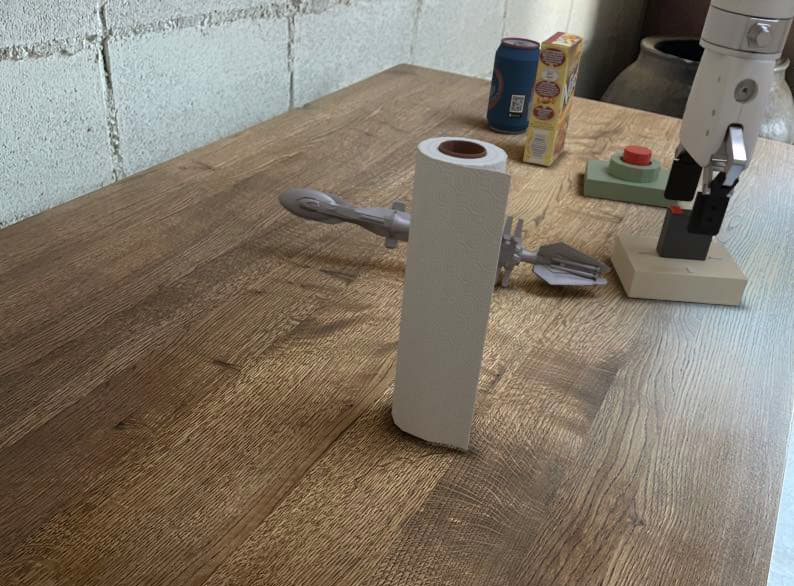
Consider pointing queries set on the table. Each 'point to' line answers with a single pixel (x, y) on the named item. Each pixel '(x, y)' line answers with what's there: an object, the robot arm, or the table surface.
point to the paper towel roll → (448, 285)
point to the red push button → (637, 155)
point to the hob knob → (681, 237)
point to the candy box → (552, 97)
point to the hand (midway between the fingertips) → (689, 216)
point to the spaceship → (549, 262)
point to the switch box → (627, 181)
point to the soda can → (513, 85)
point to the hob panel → (677, 273)
